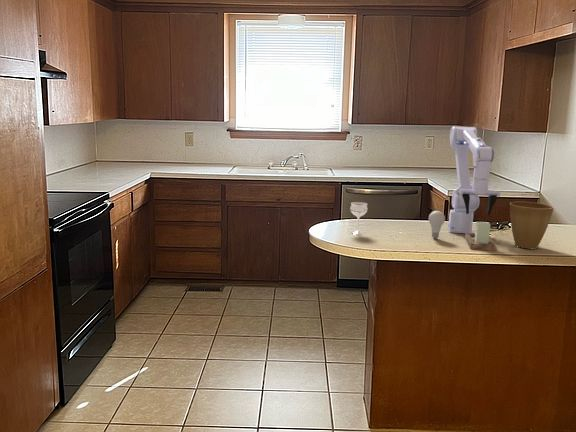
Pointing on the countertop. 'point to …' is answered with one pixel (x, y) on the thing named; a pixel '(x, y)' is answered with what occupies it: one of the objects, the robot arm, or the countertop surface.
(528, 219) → the plant pot
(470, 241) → the pocket rack
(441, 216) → the lightbulb
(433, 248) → the countertop surface
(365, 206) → the wineglass
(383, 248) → the countertop surface
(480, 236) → the green block
